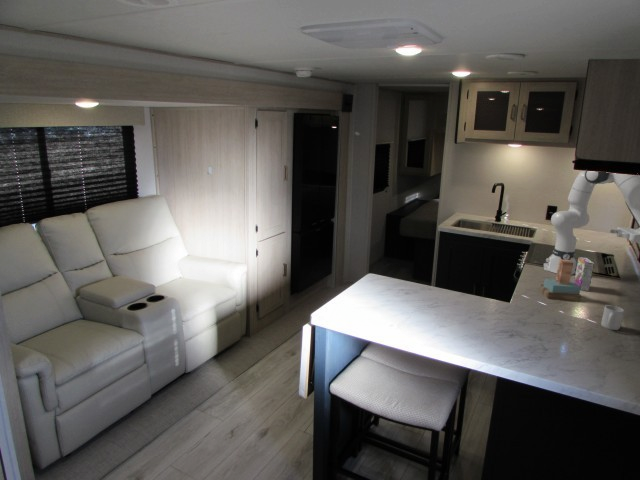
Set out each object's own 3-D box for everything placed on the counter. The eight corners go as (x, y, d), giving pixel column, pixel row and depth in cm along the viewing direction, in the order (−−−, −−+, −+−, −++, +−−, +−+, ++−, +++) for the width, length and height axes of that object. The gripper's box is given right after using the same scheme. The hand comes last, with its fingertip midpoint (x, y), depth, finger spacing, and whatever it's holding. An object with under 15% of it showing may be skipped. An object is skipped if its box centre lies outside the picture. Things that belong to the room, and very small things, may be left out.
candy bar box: (572, 284, 264) (578, 256, 260) (582, 285, 263) (587, 257, 259) (579, 290, 253) (585, 262, 249) (589, 291, 252) (595, 263, 248)
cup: (620, 326, 206) (624, 308, 204) (617, 333, 199) (621, 314, 197) (602, 322, 211) (606, 304, 209) (598, 328, 203) (602, 309, 201)
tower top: (543, 286, 247) (544, 279, 246) (569, 287, 247) (570, 280, 246) (552, 292, 237) (553, 285, 236) (579, 294, 237) (580, 286, 236)
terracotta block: (555, 280, 244) (559, 259, 241) (565, 281, 243) (569, 260, 240) (559, 283, 239) (563, 262, 236) (569, 284, 239) (573, 262, 236)
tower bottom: (539, 291, 251) (541, 284, 250) (570, 294, 248) (572, 287, 247) (547, 299, 238) (548, 292, 237) (580, 303, 236) (581, 295, 235)
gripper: (636, 225, 243) (607, 223, 246) (654, 233, 224) (623, 231, 227) (633, 237, 245) (605, 234, 248) (651, 246, 225) (620, 243, 228)
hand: (613, 233), depth 237 cm, fingers open, 8 cm apart
